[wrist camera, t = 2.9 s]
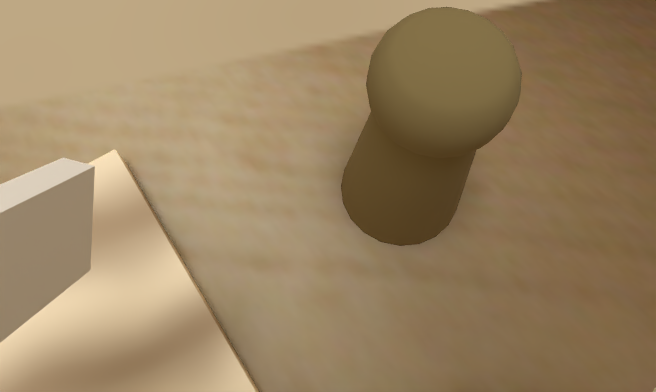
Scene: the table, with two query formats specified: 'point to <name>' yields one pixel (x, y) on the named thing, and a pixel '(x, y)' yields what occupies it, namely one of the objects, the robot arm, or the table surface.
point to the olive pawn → (428, 121)
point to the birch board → (124, 312)
